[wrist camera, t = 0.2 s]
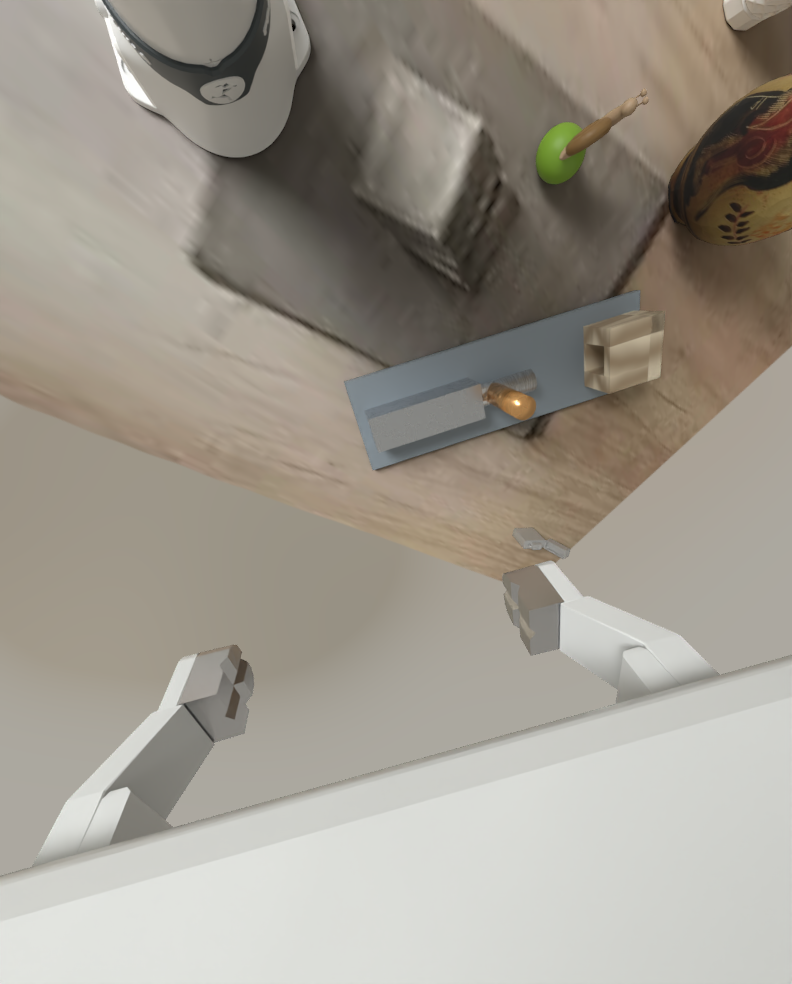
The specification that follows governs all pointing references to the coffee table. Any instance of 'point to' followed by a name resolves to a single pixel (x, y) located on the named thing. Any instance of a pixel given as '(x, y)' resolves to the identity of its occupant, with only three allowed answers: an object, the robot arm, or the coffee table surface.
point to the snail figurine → (576, 143)
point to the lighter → (539, 542)
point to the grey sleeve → (425, 414)
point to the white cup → (752, 11)
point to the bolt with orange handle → (512, 394)
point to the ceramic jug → (740, 171)
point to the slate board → (491, 374)
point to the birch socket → (623, 350)
